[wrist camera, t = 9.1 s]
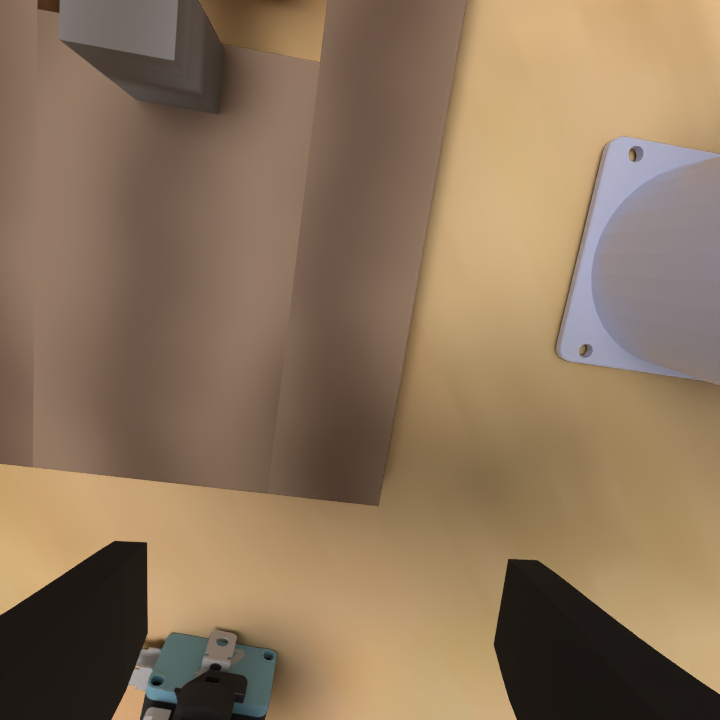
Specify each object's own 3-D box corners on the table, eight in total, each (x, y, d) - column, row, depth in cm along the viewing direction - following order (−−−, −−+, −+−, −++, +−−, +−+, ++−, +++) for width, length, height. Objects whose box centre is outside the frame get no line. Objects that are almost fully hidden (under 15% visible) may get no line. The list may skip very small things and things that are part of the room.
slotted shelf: (498, -251, 14) (613, -605, 8) (373, 480, 19) (391, 579, 13) (-67, -393, 13) (-399, -929, 7) (-46, 431, 18) (-231, 517, 12)
